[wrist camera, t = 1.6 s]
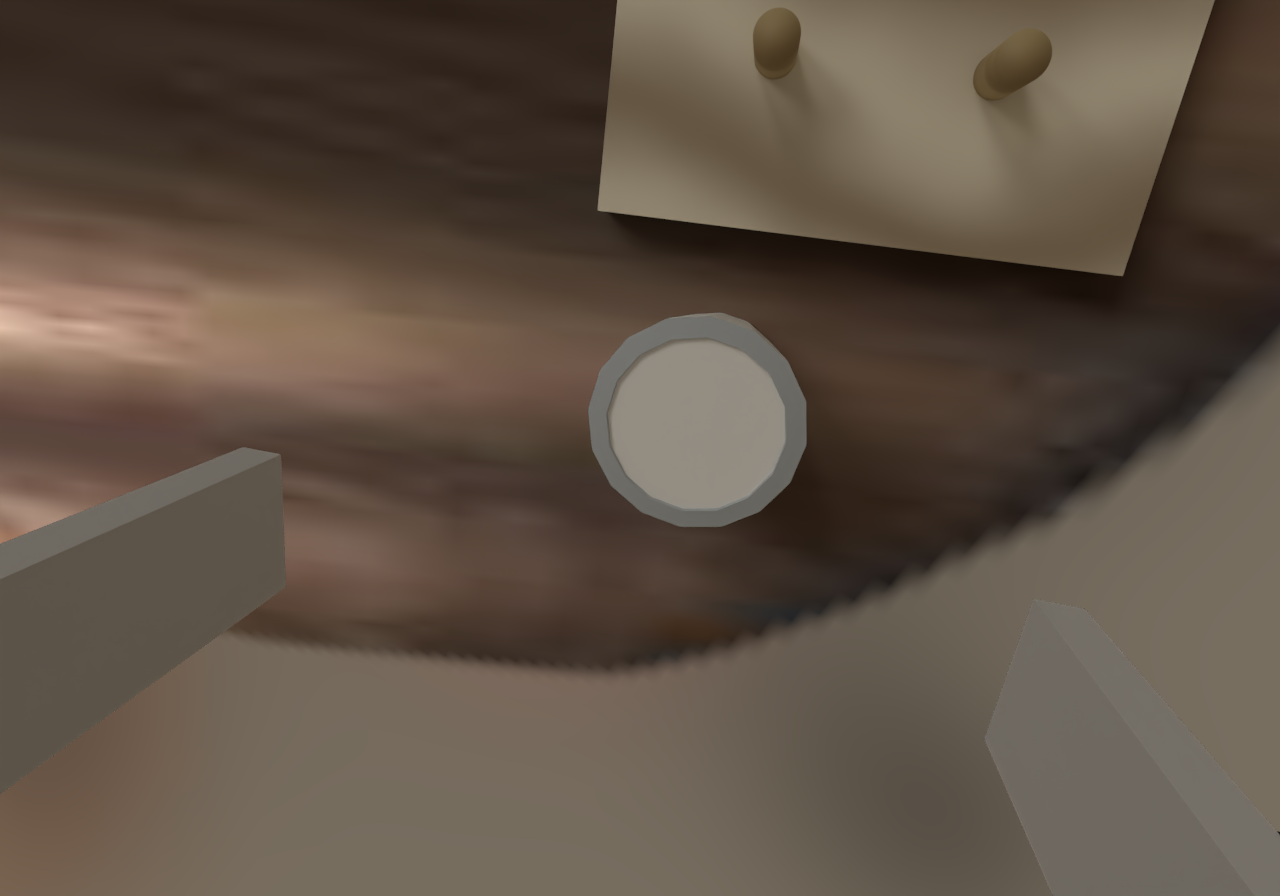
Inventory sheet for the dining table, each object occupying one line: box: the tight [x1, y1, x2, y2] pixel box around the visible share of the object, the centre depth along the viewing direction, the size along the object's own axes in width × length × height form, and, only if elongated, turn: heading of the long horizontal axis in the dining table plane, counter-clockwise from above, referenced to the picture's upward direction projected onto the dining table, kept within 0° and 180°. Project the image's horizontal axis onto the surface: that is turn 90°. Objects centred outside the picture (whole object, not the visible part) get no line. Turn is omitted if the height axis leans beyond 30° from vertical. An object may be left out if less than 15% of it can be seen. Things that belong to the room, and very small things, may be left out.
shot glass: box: [588, 313, 807, 527], centre depth 24 cm, size 7×7×7 cm
